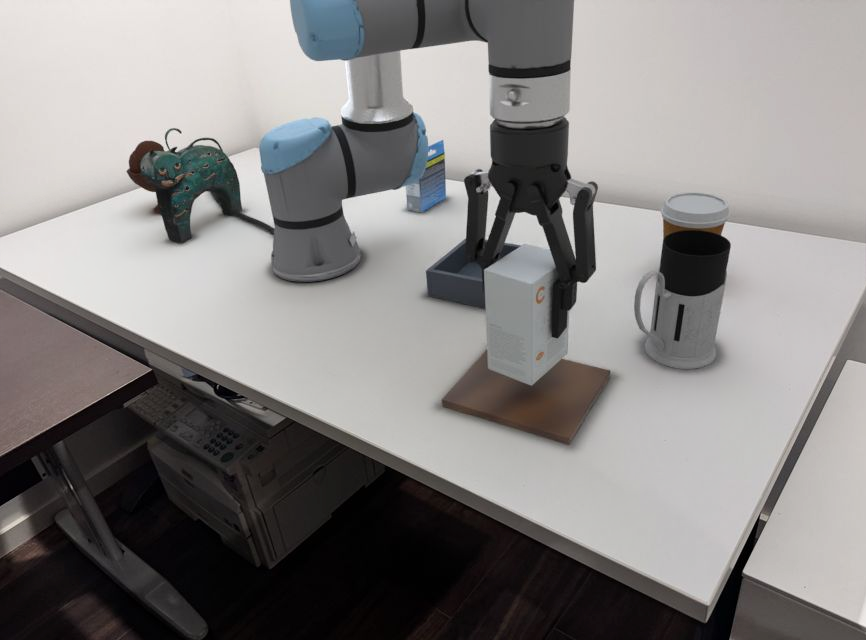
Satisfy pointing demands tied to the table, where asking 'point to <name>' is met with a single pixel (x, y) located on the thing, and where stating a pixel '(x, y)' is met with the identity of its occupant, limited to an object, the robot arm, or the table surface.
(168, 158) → the ceramic cat
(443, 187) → the label tape box
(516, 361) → the small box
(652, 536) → the table surface
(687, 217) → the disposable coffee cup
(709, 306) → the glass holder
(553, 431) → the board
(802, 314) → the table surface
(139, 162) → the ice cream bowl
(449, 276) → the bin
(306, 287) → the table surface
